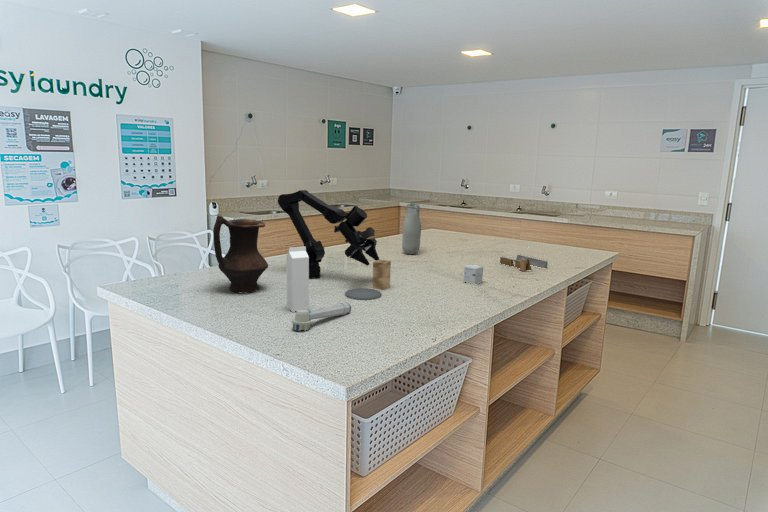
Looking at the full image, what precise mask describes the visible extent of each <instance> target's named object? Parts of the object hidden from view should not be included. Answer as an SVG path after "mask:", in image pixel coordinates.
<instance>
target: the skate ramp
mask: <svg viewBox="0 0 768 512" xmlns="http://www.w3.org/2000/svg"><path fill="white" fill-rule="evenodd" d="M500 263H501V264H500ZM548 263H549V261H548V259H547V258H545V259H544V258H539V257H534V256H532V255H531V256H526V254H523V255H522V253H516V258H511V257H507V256H504V255H501V256H500V260H499V264H500V265H502V264H505V265H504V266H506V265H509V266H508V267H510V266H513V267H514V268H515V267H517V268H516V269H518V268H520V269H519V271H520V272H521V271H522V272H527V271H526V270H533V269H532V268H531V267H532V266H530V265H533V266H537V267H541V268H547V269H548ZM514 265H515V266H514Z"/></svg>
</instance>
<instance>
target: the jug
mask: <svg viewBox="0 0 768 512" xmlns="http://www.w3.org/2000/svg"><path fill="white" fill-rule="evenodd" d="M223 225H224V226H226V227H227V228H228V233H229V248H228V251H227V252H226V254H225V255H224V257H223V254H222V253H223V252H222V251H223V250H222V245H221V236H220V235H221V229H222V226H223ZM265 226H266V223H265V222H263V221H260V220H255V219H248V218H238V219H231V220H230V219H229V220H228V219H226V218H225V217H224V216H223V215H221V214H218V215H217V216H216V219H215V223H214V226H213V229H212V230H213V232H212V233H213V234H212V235H213V248H214V254H215V258H216V261H217V263H218V264H217V265H218V269H219V270H220V271H221V273H222V274H224V276H225V277H226V278H227V279H228V281H229V282H230V285H229V287H228V288H229V289H228V290H229V291H230V292H233V293H237V292H250V293H253V291H254V292H256V290H257V291H258V290H259V285H258V283H257V282H258V281H259V279H260V277H261V276H262V275H263V273H264V272H265V271H266V269H268V267H269V263H268V262H267V261H266V259H265V258H264V257H263V255H262V254H261V253H260V252H259V250H258V239H259V238H258V236H259V230H260V229H259V228H265Z"/></svg>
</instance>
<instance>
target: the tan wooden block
mask: <svg viewBox="0 0 768 512" xmlns="http://www.w3.org/2000/svg"><path fill="white" fill-rule="evenodd" d="M391 263H392V261H390V260H384V259H380V260H377V261H376V260H374V261H373V262H372V282H371V283H372V284H371V285H372V287H371V289H374V290H378V291H386V290H388V289H390V288H391V271H392V269H391V265H392V264H391ZM389 287H390V288H389ZM387 288H388V289H387ZM385 289H386V290H385Z"/></svg>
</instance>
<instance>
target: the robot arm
mask: <svg viewBox="0 0 768 512" xmlns="http://www.w3.org/2000/svg"><path fill="white" fill-rule="evenodd" d="M277 199H278V200H277V204H278V206H279V207H280V208H281V210H282V211H283V212H284V213H286V214H287V215H288V216H289V218H290V220H291V223H292V224H293V226H294V228H295V229H296V231H297V234H298V236H299V237H300V239H301V241H302V243H303V247H304V246H305V247H306V252H307V254H308V256H309V280H310V279H321V266H320V263H322V261H323V258H324V257H325V254H326V252H325V251H326V250H325V247H324V245H323V243H322V242H321V240H316V239H314V236H313V234H312V233H311V230H310V229H309V227H308V225H307V223H306V221H305V220H304V217H303V215H302V214H301V212H300V203H299V202H303V203H305V204H307V205H308V206H309V207H311V208H312V209H314V210H316V211H317V212H319V213H321V215H322V216H323V217H324V219H325V220H326V221H327V222H329V223H330V224H332V225H334V224H338V225H334V229H333V230H334V231H333V233H334V234H335V233H339V232H340V233H341V235H342V236H343V238H345V240H344V242H345V243H348V244H349V246H348V247H347V248H346V249H345V250H344V255H345V257H347V258H350V259H352V260H355V261H357V262H360V263H361V264H363V265H365V266H367V267H368V266H369V265H370V262H369V260H368V259H367V257H366V256H365V254H366V255H367V256H369V257H371V259H373V260H374V261H377V260H381V259H380V257H379V255H378V252H377V249H376V246H377V242H378V240H376V239H377V238H375V237H374V236H376V235H375V232H376V230H375V229H374V228H372V226H368V227H367V228H365V230H363V231H361V230H357V229H356V228H355V227H357V228H358V227H360V225H361V224H362V223H363V222H364V221H365V220H366V219H367V218H368V214H367V212H366V211H365V210H363V209H362V208H361V207H359V206H358V205H354V206H353V207H352V209H351V210H350V211H349V212H347V211H345V210H343V209H342V208H340V207H337V206H333V205H330V204H328V203H326V202H325V201H323V200H322V199H320V198H318V197H317V196H315V195H313V194H312V193H310V192H309V191H308V190H306V189H304V190H303V189H301V190H298V191H295V192H292V193H282V194H280V195H279V196H278V198H277ZM363 251H364V252H363ZM364 253H365V254H364Z"/></svg>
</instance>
